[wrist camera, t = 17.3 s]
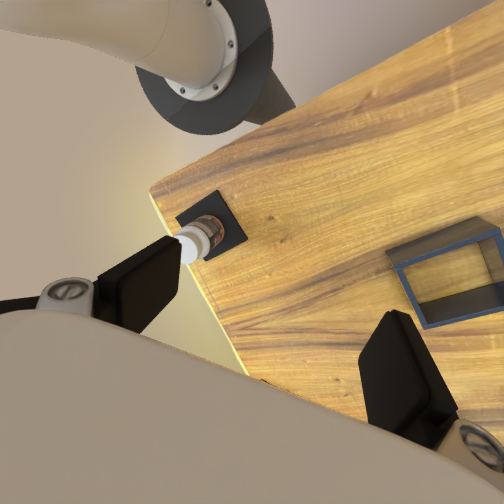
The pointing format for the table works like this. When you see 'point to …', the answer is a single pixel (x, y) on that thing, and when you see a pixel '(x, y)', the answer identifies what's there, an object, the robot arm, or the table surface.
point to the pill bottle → (199, 238)
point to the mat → (221, 211)
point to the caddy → (466, 303)
